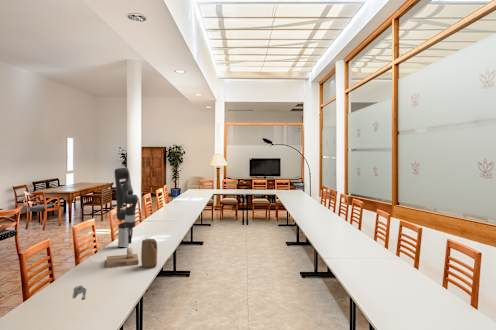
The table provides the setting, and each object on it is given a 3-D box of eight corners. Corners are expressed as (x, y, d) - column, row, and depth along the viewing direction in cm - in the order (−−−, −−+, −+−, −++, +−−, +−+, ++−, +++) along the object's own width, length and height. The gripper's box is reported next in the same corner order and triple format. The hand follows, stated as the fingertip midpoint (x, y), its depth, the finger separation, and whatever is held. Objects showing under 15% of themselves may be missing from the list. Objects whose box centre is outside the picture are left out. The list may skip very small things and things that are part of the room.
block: (140, 267, 230) (140, 240, 229) (144, 264, 237) (144, 237, 237) (154, 268, 229) (155, 240, 229) (158, 265, 237) (158, 238, 236)
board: (106, 260, 245) (106, 256, 245) (136, 257, 253) (137, 253, 253) (106, 267, 228) (106, 263, 228) (138, 264, 237) (138, 260, 237)
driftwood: (75, 287, 194) (75, 284, 194) (87, 286, 196) (87, 282, 196) (71, 302, 175) (71, 298, 175) (85, 300, 177) (85, 296, 177)
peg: (126, 261, 244) (126, 248, 244) (131, 260, 245) (132, 247, 245) (126, 262, 240) (127, 249, 240) (132, 262, 242) (132, 249, 242)
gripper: (124, 219, 247) (124, 241, 247) (125, 222, 235) (124, 246, 235) (134, 219, 250) (134, 240, 250) (136, 222, 238) (135, 245, 238)
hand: (129, 243), depth 242 cm, fingers closed
